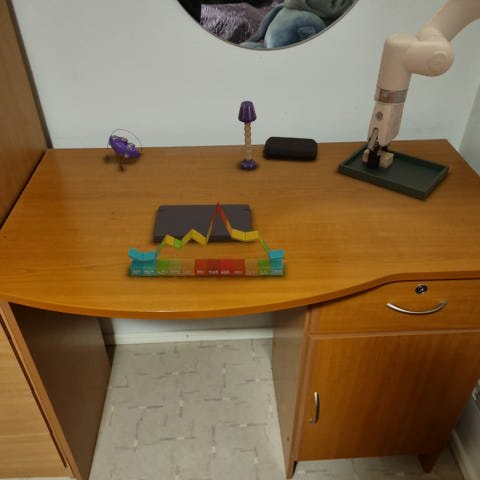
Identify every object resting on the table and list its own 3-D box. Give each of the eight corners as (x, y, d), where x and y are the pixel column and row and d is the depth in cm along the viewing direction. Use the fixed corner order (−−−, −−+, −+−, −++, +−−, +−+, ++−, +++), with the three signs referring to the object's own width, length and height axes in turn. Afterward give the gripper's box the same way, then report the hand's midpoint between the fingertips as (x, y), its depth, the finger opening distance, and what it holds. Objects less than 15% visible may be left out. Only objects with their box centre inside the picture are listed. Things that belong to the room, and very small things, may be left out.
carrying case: (317, 145, 139) (266, 142, 140) (318, 135, 137) (266, 132, 138) (316, 162, 131) (262, 159, 133) (317, 152, 129) (263, 148, 130)
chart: (131, 276, 96) (118, 210, 86) (133, 266, 99) (121, 201, 88) (282, 276, 96) (288, 210, 86) (281, 266, 99) (286, 201, 88)
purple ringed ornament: (152, 143, 131) (126, 149, 124) (145, 169, 136) (120, 176, 129) (125, 124, 133) (99, 129, 126) (120, 150, 138) (93, 156, 131)
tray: (447, 173, 127) (449, 166, 125) (423, 200, 117) (425, 192, 116) (365, 149, 137) (367, 142, 136) (337, 172, 127) (338, 164, 126)
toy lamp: (243, 171, 128) (243, 107, 116) (235, 164, 130) (234, 101, 119) (259, 167, 129) (261, 103, 118) (250, 160, 132) (251, 97, 120)
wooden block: (391, 166, 129) (394, 154, 126) (385, 171, 126) (388, 159, 124) (367, 159, 131) (369, 147, 129) (361, 164, 129) (363, 151, 127)
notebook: (154, 242, 105) (251, 240, 105) (153, 236, 104) (251, 234, 104) (159, 210, 114) (249, 209, 114) (158, 205, 113) (249, 203, 113)
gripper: (391, 107, 110) (375, 181, 123) (418, 87, 119) (401, 157, 132) (361, 100, 113) (348, 173, 126) (390, 81, 123) (376, 150, 135)
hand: (375, 164), depth 129 cm, fingers closed on wooden block, 3 cm apart
